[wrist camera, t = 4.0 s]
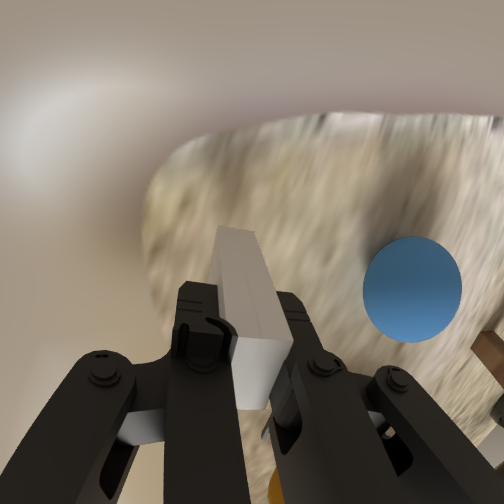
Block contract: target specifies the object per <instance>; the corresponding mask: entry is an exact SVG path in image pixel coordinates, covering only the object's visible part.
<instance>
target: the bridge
mask: <svg viewBox="0 0 504 504" xmlns="http://www.w3.org/2000/svg"><path fill="white" fill-rule="evenodd" d="M470 349H471V350H472V351H473V352H474V353H475V354H476V356H477V357H478V358H479V359H480V360H481V362H482V363H483V364H484V365H485V366H486V368H487V369H488V370H489V371H490V373H491V374H492V375H493V376H494V378H495V379H496V380H497V381H498V383H499V384H500V385H501V386H502V388H503V389H504V341H503V340H502V339H501V338H500V337H499V336H498V335H497V334H496V333H495V332H494V331H491V332H480V334H479V336H478V337H477V339H476V340H475V342H474V344H473V345H472V347H471V348H470Z"/></svg>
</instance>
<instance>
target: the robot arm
mask: <svg viewBox="0 0 504 504" xmlns="http://www.w3.org/2000/svg"><path fill="white" fill-rule="evenodd" d="M306 313H307V312H306V310H305V307H304V305H303V303H302V302H301V301H300V300H299V299H298V298H297V297H296V296H295V295H294V294H293V293H290V292H281V291H276V290H275V288H274V285H273V282H272V279H271V277H270V274H269V271H268V268H267V266H266V263H265V260H264V258H263V255H262V252H261V249H260V247H259V244H258V241H257V239H256V236H255V233H254V231H248V230H242V229H236V228H229V227H223V226H218V227H217V232H216V237H215V242H214V248H213V253H212V259H211V264H210V270H209V275H208V281H207V284H206V283H198V282H191V281H186V282H185V283H184V284H183V285H182V286H181V287H180V288H179V291H178V298H177V306H176V314H175V323H174V327H173V330H172V342H171V349H170V350H169V352H168V353H167V354H166V355H165V356H164V357H162V358H161V359H159V360H156V361H154V362H149V363H143V364H133V365H132V363H131V362H130V361H129V360H128V359H127V358H126V357H124V356H122V355H121V354H119V353H117V352H113V351H108V350H100V351H93V352H90V353H88V354H85V355H84V356H83V357H81V358H80V359H79V360H78V361H77V362H76V363H75V365H74V366H73V367H72V369H71V370H70V372H69V373H68V374H67V376H66V377H65V379H64V380H63V381H62V383H61V384H60V385H59V387H58V388H57V390H56V391H55V392H54V394H53V395H52V396H51V398H50V399H49V401H48V402H47V404H46V405H45V407H44V408H43V409H42V411H41V412H40V414H39V415H38V417H37V418H36V420H35V421H34V423H33V424H32V426H31V427H30V429H29V430H28V432H27V433H26V435H25V436H24V438H23V439H22V441H21V443H20V444H19V446H18V447H17V449H16V450H15V452H14V454H13V456H12V457H11V459H10V460H9V462H8V463H7V465H6V467H5V469H4V470H3V472H2V474H1V475H0V504H117V501H118V499H119V496H120V494H121V491H122V488H123V486H124V483H125V481H126V478H127V476H128V473H129V471H130V468H131V466H132V463H133V461H134V458H135V456H136V454H137V451H138V449H139V446H140V445H143V444H149V443H155V442H162V441H165V444H164V491H163V494H164V495H163V496H164V497H163V498H164V504H251V500H250V494H249V488H248V482H247V475H246V469H245V462H244V455H243V449H242V442H241V435H240V428H239V420H238V413H237V409H247V410H264V409H265V407H266V405H267V403H268V400H269V398H270V403H271V407H272V413H271V415H270V417H269V419H268V421H267V423H266V425H265V427H264V429H263V431H262V435H261V439H265V438H266V436H267V435H268V433H269V432H270V437H271V438H270V439H271V442H272V447H273V451H274V456H275V461H276V466H277V470H278V475H279V479H280V484H281V489H282V493H283V498H284V502H285V504H504V461H503V462H502V463H501V464H500V465H498V466H497V467H496V468H495V469H494V468H493V467H492V466H491V465H490V464H489V462H488V461H487V460H486V459H485V458H484V457H483V456H482V454H481V453H480V452H479V451H478V450H477V448H476V447H475V446H474V445H473V444H472V443H471V441H470V440H469V439H468V438H467V437H466V436H465V435H464V433H463V432H462V431H461V430H460V429H459V428H458V427H457V425H456V424H455V423H454V422H453V421H452V420H451V419H450V418H449V416H448V415H447V414H446V413H445V412H444V411H443V410H442V409H441V407H440V406H439V405H438V404H437V403H436V402H435V401H434V400H433V399H432V397H431V396H430V395H429V394H428V393H427V392H426V391H425V390H424V389H423V388H422V387H421V385H420V384H419V383H418V382H417V381H416V380H415V379H414V378H413V377H412V376H411V375H410V374H409V373H408V372H406V371H405V370H403V369H401V368H399V367H396V366H391V365H388V366H382V367H381V368H379V369H378V370H377V371H376V373H375V375H374V376H373V377H370V376H365V375H361V374H356V373H352V372H349V371H348V370H347V367H346V366H345V364H344V363H343V362H342V360H341V359H340V358H338V357H337V356H336V355H334V354H333V353H330V352H328V351H326V350H324V349H323V346H322V344H321V342H320V340H319V338H318V336H317V333H316V331H315V329H314V327H313V325H312V322H310V318H309V316H308V314H306ZM491 417H492V418H493V420H494V421H495V422H496V423H497V424H499V425H500V426H502V427H503V428H504V395H503V396H502V397H501V399H500V400H499V401H498V402H497V404H496V405H495V407H494V408H493V410H492V412H491ZM390 427H392V428H393V429H394V431H395V432H396V433H395V434H394V435H393V436H392V437H390V436H387V435H386V434H385V432H386V431H387V430H388V429H389V428H390Z"/></svg>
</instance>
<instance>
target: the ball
mask: <svg viewBox="0 0 504 504" xmlns="http://www.w3.org/2000/svg"><path fill="white" fill-rule="evenodd" d="M461 294H462V282H461V276H460V272H459V269H458V266H457V264H456V262H455V260H454V259H453V257H452V256H451V255H450V253H449V252H448V251H447V250H446V249H445V248H444V247H442V246H441V245H440V244H438V243H436V242H435V241H432V240H430V239H427V238H423V237H405V238H401V239H398V240H395V241H393V242H391V243H389V244H388V245H386V246H385V247H384V248H382V249H381V250H380V251H379V252H378V253H377V254H376V256H375V257H374V258H373V260H372V261H371V263H370V265H369V267H368V269H367V271H366V274H365V278H364V282H363V299H364V305H365V308H366V311H367V314H368V316H369V317H370V319H371V321H372V323H373V324H374V325H375V326H376V327H377V328H378V329H379V330H380V331H381V332H382V333H383V334H385V335H386V336H388V337H390V338H392V339H394V340H397V341H401V342H409V343H411V342H420V341H424V340H427V339H430V338H432V337H434V336H435V335H437V334H439V333H440V332H441V331H442V330H444V329H445V328H446V327H447V326H448V324H449V323H450V322H451V321H452V319H453V317H454V316H455V314H456V312H457V310H458V307H459V304H460V300H461Z"/></svg>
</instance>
